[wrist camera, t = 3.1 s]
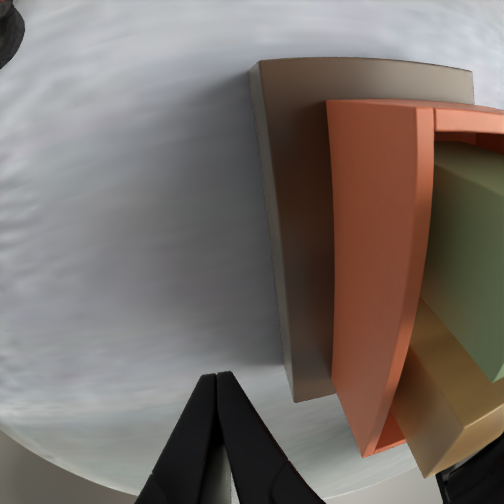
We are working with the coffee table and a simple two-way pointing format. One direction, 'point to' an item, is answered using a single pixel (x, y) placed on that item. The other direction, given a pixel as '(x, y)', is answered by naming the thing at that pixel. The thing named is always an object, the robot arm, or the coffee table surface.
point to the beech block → (444, 397)
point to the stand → (319, 185)
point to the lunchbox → (385, 241)
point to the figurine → (9, 31)
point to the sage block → (468, 250)
